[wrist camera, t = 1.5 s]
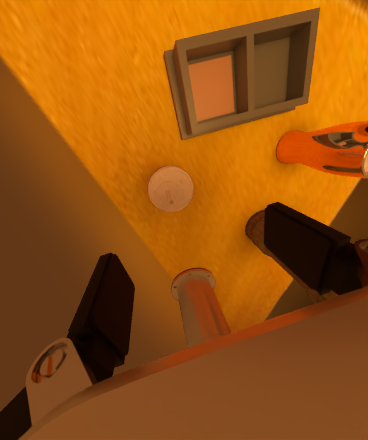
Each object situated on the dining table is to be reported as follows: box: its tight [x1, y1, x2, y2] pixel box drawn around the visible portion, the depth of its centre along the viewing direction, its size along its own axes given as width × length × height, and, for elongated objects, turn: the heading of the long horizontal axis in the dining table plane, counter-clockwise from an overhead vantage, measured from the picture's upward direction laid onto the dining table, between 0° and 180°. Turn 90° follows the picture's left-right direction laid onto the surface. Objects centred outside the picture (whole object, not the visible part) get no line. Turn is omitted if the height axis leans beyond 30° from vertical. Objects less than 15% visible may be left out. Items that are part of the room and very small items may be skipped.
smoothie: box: [148, 166, 194, 212], centre depth 24 cm, size 6×6×14 cm
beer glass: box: [276, 121, 368, 178], centre depth 25 cm, size 7×7×15 cm
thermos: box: [245, 210, 336, 304], centre depth 24 cm, size 9×12×35 cm
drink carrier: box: [164, 8, 320, 140], centre depth 23 cm, size 11×21×4 cm, turn 103°
